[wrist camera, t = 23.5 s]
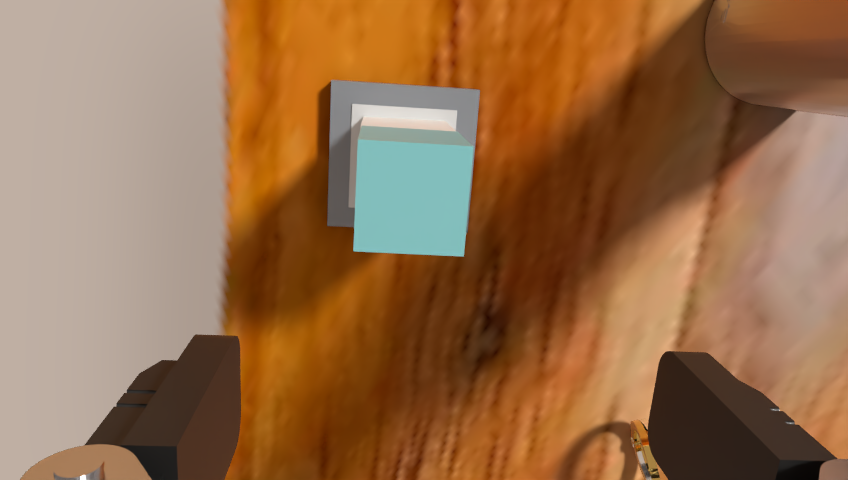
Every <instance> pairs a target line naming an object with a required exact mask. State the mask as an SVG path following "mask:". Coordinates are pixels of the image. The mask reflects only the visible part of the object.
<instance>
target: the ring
mask: <svg viewBox="0 0 848 480" xmlns="http://www.w3.org/2000/svg"><path fill="white" fill-rule="evenodd" d="M630 428H631V437H630V439H631V444H632V447H634V451H635V455H636V458H637V461H638V464H639V467H640V470H641V473H642V475H643V478H644V480H660V477H659V473H658V469H657V465H656V461H655V459H654V457H653V455H652V453H651V450H650V447H649V442H648V436H647V435H648V420H647V419H645V418H643V419H639V420H634V421H631V424H630Z"/></svg>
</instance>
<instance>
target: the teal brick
mask: <svg viewBox="0 0 848 480" xmlns="http://www.w3.org/2000/svg"><path fill="white" fill-rule="evenodd" d="M473 148H474V146H473V145H472V144H470V143H469V142H468V141H467V140H466V139H465V138H464V137H463V136H462V135H461V134H460V133H459V132H457V131H441V130H425V129H409V128H393V127H377V126H362V127H361V130H360V134H359V137H358V148H357V172H356V197H355V221H354V246H353V251H356V252H378V253H399V254H420V255H442V256H463V257H464V249H465V238H466V226H467V215H468V204H469V193H470V181H471V170H472V159H473Z"/></svg>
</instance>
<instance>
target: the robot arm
mask: <svg viewBox="0 0 848 480" xmlns="http://www.w3.org/2000/svg"><path fill="white" fill-rule="evenodd" d="M705 47H706V55H707V59H708V62H709V66H710V68H711V70H712V72H713V74H714V76H715V78H716V80H717V81H718V82H719V83H720V84H721V86H722V87H723V88H724V89H725V90H726V91H727V92H729V93H730V94H731V95H733V96H734V97H736V98H737V99H739V100H742V101H745V102H747V103H750V104H756V105H764V106H772V107H779V108H787V109H793V110H796V111H803V112H811V113H819V114H827V115H835V116H844V117H848V0H715V1H714V3H713V5H712V8H711V11H710V13H709V16H708V19H707V25H706V33H705ZM240 420H241V390H240V344H239V339H238V337H237V336H221V335H195V336H194V337H193V338H192V340H191V341H190V343H189V344H188V346H187V347H186V349H185V350H184V351H183V353H182V354H181V356H180V357H179V359H178V360H177V361H173V360H162V361H160V362H158V363H157V364H155V365H153V366H152V367H150V368H148V369H146V370H145V371H143V372H141V373H140V374H139V375H138V376H137V378H136V379H135V380H134V381H133V383H132V384H131V385H130V387H129V388H128V389H127V393H124V394H123V396H122V397H121V398H120V400H119V401H118V402H117V406H116V407H113V409H112V410H111V411H110V413H109V414H108V415H107V417H106V418H105V419H104V420H103V422H102V423H101V424H100V426H99V427H98V428H97V430H96V431H95V432H94V433H93V435H92V436H91V437H90V439H89V440H88V442H87V443H86V444H85V445H84V446H79V447H74V448H71V449H67V450H64V451H61V452H58V453H55V454H53V455H51V456H49V457H47V458H45V459H43V460H41V461H39V462H38V463H37V464H35V465H34V466H32V467H31V468H30V469H29V470H28V471H27V472H25V474H24V475H23V476H22V477H21V479H20V480H224V479H225V476H226V474H227V471H228V468H229V466H230V463H231V460H232V458H233V455H234V452H235V449H236V446H237V442H238V437H239V430H240ZM648 442H649V447H650V450H651V453H652V455H653V457H654V459H655V461H656V462H657V464H658V465H659V466H660V468H661V469H662V471H663V472H664V474H665V475H666V477H667V478H668V480H848V459H837V458H836V457H835V456H834V455H832V454H831V453H830V452H829V451H828V450H827V449H826V448H824V447H823V446H822V445H821V444H820V443H819V442H817V441H816V440H815V439H814V438H813V437H812V436H811V435H809V434H808V433H807V432H806V431H805V430H804V429H803V428H801V427H800V426H799V425H795V424H794V421H793V420H792V419H791V418H790V417H789V416H788V415H787V414H785V413H784V412H783V411H779V407H777V406H776V405H775V404H774V403H773V402H772V401H771V400H769V399H768V398H767V397H766V396H765V395H764V394H763V393H761V392H760V391H758V390H756V389H754V388H752V387H750V386H748V385H747V384H745V383H743V382H741V381H739V380H738V379H736V378H735V377H734V376H733V375H732V374H731V373H730V372H729V371H727V370H726V369H725V368H724V367H723V366H722V365H721V364H720V363H719V362H717V361H716V360H715V359H714V358H713V357H712V356H711V355H709V354H708V353H704V352H674V351H667V352H665V353H664V354H663V355H662V357H661V359H660V362H659V366H658V371H657V377H656V383H655V388H654V394H653V399H652V405H651V410H650V416H649V421H648Z"/></svg>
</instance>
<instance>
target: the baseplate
mask: <svg viewBox="0 0 848 480" xmlns="http://www.w3.org/2000/svg"><path fill="white" fill-rule="evenodd" d="M479 95H480V90H478V89H466V88H451V87H436V86H420V85H405V84H390V83H375V82H360V81H344V80H331V105H330V143H329V180H328V218H327V226H339V227H354V221H355V197H356V172H357V148H358V137H359V134H360V126H361V123H362V120H363V116H365V117H383V118H402V119H420V120H438V121H446V122H447V123H448V124H449V125H450V126H451V127H452V128H453V129H454V130H455V131H457V132H459V133H460V134H461V135H462V136H463V137H464V138H465V139H466V140H467V141H468V142H469V143H470V144H472V145H473V146H474V148H473V159H472V170H471V181H470V193H469V204H468V215H467V226H466V233H468V221H469V210H470V199H471V187H472V176H473V164H474V153H475V141H476V130H477V118H478V107H479Z"/></svg>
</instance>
